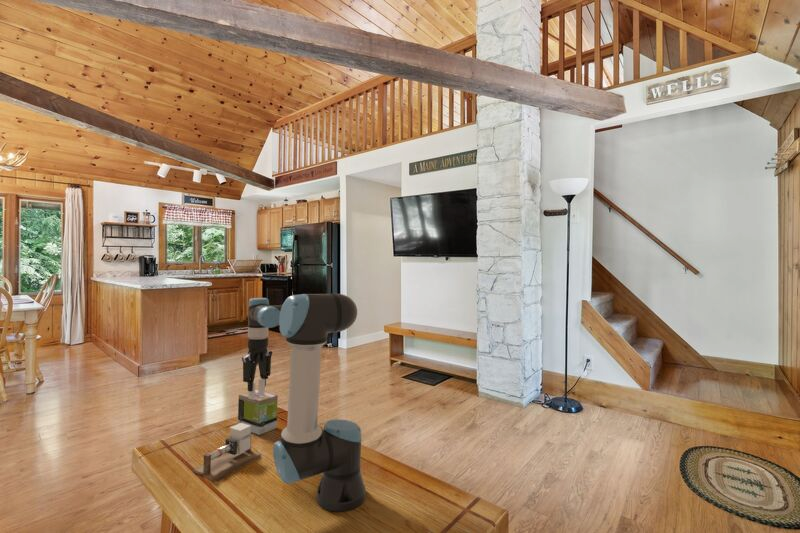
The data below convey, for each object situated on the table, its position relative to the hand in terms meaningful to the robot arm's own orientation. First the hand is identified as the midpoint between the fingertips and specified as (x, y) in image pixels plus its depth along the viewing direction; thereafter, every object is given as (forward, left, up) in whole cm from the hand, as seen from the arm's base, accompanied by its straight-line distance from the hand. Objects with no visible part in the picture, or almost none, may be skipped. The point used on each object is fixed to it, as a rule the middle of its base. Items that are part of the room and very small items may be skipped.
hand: (256, 397), depth 149 cm
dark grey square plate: (0, +11, -17) cm, 20 cm away
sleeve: (0, +8, -17) cm, 19 cm away
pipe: (0, +13, -16) cm, 20 cm away
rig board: (0, +12, -21) cm, 24 cm away
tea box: (+15, -15, -21) cm, 30 cm away
